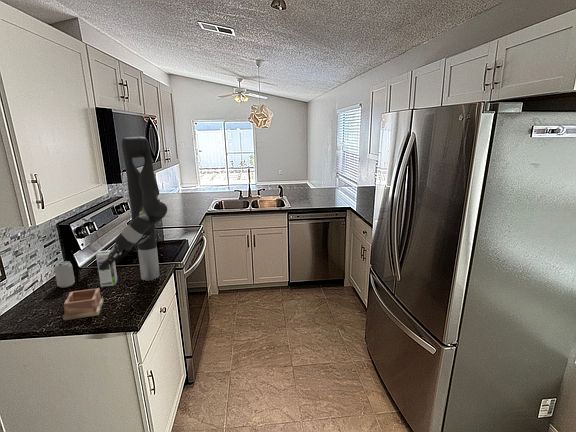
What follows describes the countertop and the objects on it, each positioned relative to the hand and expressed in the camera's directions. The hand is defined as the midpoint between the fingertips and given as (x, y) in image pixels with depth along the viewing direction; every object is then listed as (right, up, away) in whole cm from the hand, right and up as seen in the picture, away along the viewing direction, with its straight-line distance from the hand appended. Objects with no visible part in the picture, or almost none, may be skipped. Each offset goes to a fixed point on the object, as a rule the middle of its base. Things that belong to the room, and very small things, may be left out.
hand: (102, 266), depth 142 cm
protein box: (-42, +20, +153) cm, 160 cm away
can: (-34, -14, +28) cm, 46 cm away
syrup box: (+2, -8, +3) cm, 9 cm away
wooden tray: (-11, -20, +5) cm, 23 cm away
